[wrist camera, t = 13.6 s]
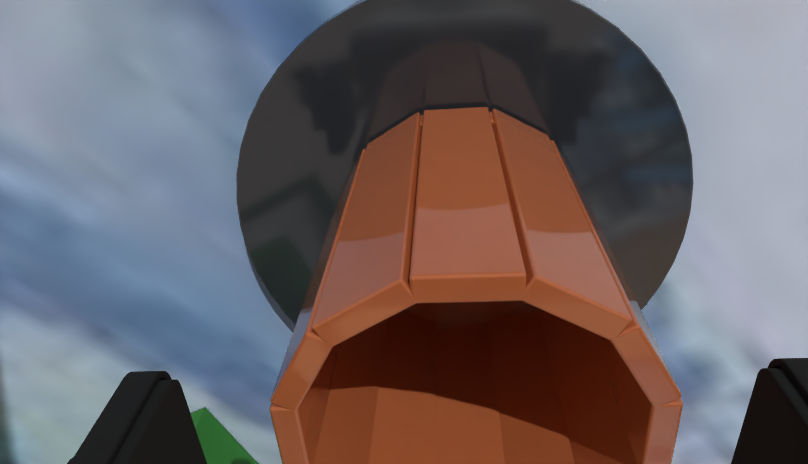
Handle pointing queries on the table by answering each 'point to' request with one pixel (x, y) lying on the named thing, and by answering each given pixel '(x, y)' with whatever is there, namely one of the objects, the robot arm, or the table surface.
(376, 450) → the wooden mug
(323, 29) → the saucer
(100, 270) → the table surface
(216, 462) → the hardback book
